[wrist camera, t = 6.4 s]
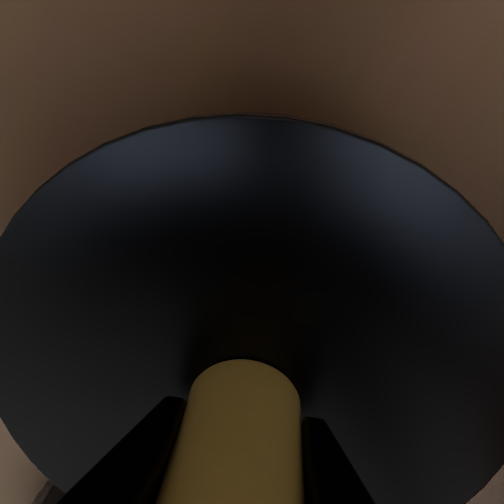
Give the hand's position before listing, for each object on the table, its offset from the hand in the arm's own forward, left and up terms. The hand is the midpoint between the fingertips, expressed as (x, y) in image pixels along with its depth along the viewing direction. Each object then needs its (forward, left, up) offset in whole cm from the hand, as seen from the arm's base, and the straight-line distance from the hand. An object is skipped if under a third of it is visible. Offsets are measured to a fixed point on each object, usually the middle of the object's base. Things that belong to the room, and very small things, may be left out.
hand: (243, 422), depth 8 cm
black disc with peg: (0, 0, -1) cm, 1 cm away
